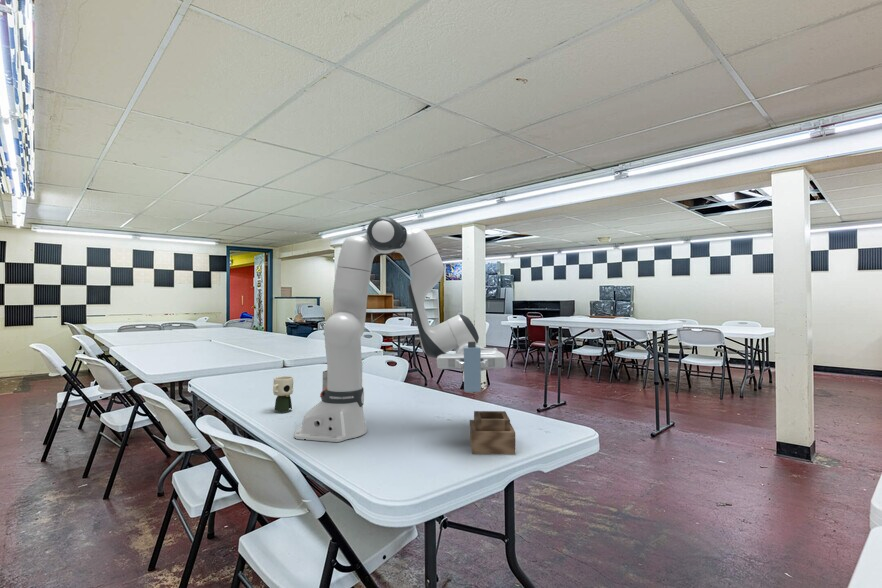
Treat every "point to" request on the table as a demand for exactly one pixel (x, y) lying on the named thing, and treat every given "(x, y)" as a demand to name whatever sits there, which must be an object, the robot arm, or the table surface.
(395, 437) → the table surface
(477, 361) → the plug block
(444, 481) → the table surface
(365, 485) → the table surface
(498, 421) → the socket block
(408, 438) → the table surface
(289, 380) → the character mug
